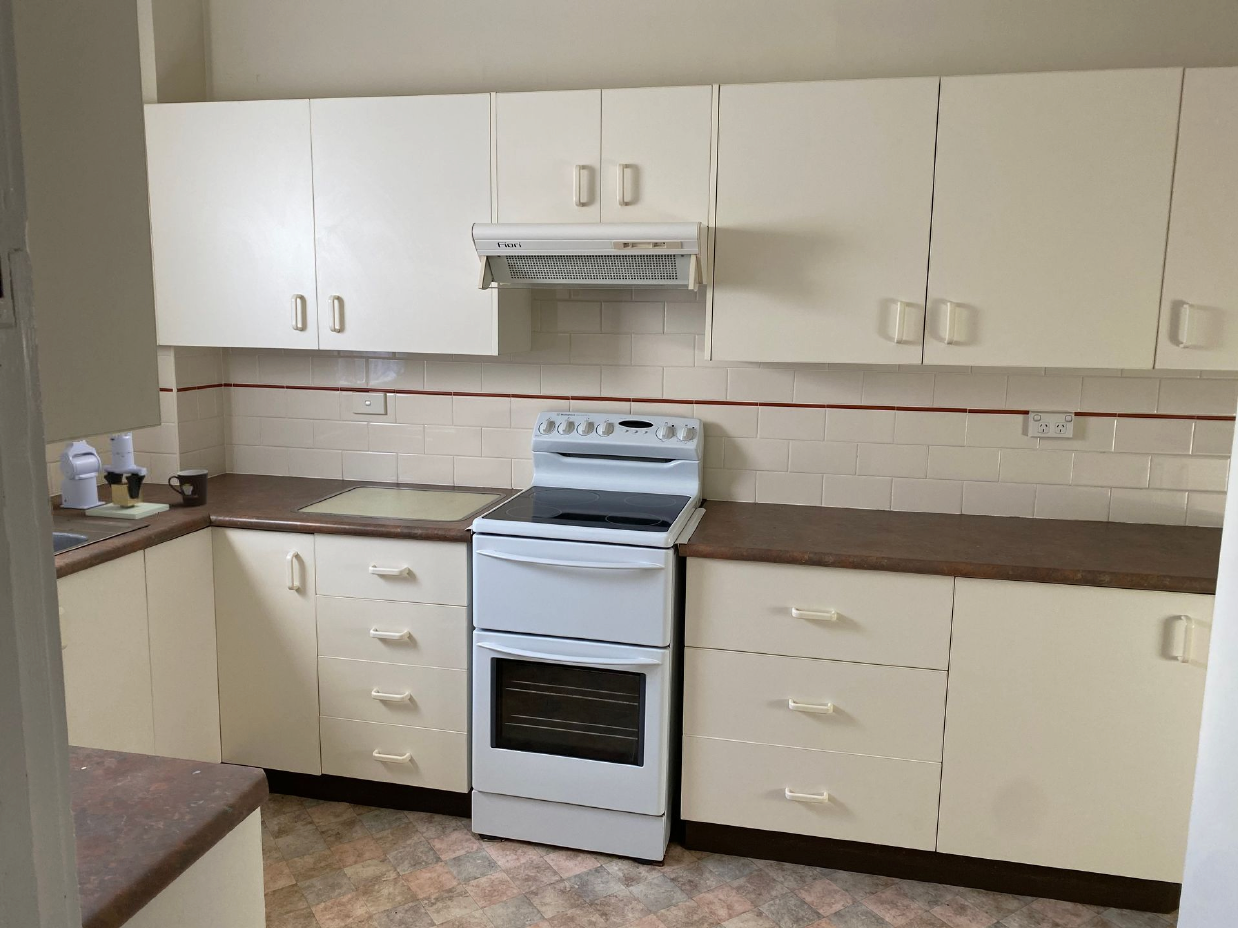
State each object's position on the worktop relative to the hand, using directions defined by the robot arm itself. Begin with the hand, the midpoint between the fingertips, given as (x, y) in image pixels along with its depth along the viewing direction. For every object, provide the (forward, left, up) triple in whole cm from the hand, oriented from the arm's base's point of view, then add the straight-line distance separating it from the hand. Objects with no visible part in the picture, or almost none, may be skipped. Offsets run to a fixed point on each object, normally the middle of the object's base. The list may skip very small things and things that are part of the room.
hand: (126, 497), depth 279 cm
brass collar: (0, 0, -2) cm, 2 cm away
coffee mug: (+10, +15, -5) cm, 19 cm away
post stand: (0, 0, -4) cm, 4 cm away
